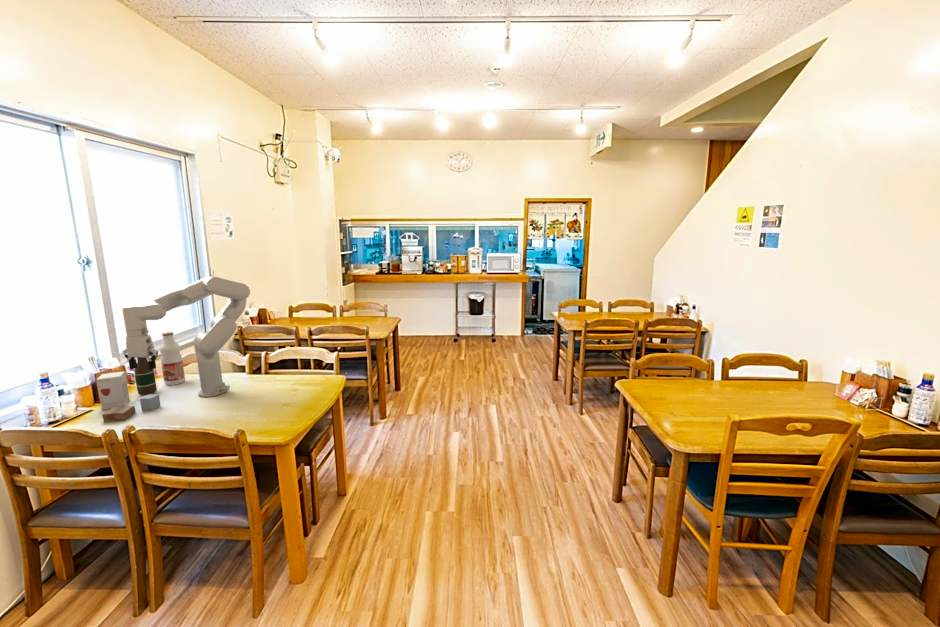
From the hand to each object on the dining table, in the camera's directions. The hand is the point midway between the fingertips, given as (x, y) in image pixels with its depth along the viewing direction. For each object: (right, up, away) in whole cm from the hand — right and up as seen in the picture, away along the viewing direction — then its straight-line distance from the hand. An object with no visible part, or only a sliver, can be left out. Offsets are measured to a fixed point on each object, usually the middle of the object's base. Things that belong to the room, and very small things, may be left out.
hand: (143, 368), depth 192 cm
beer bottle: (-16, -16, +23) cm, 32 cm away
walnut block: (-5, -21, -7) cm, 23 cm away
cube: (+2, -19, +2) cm, 19 cm away
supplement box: (-19, -18, +7) cm, 27 cm away
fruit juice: (-12, -13, +38) cm, 41 cm away
